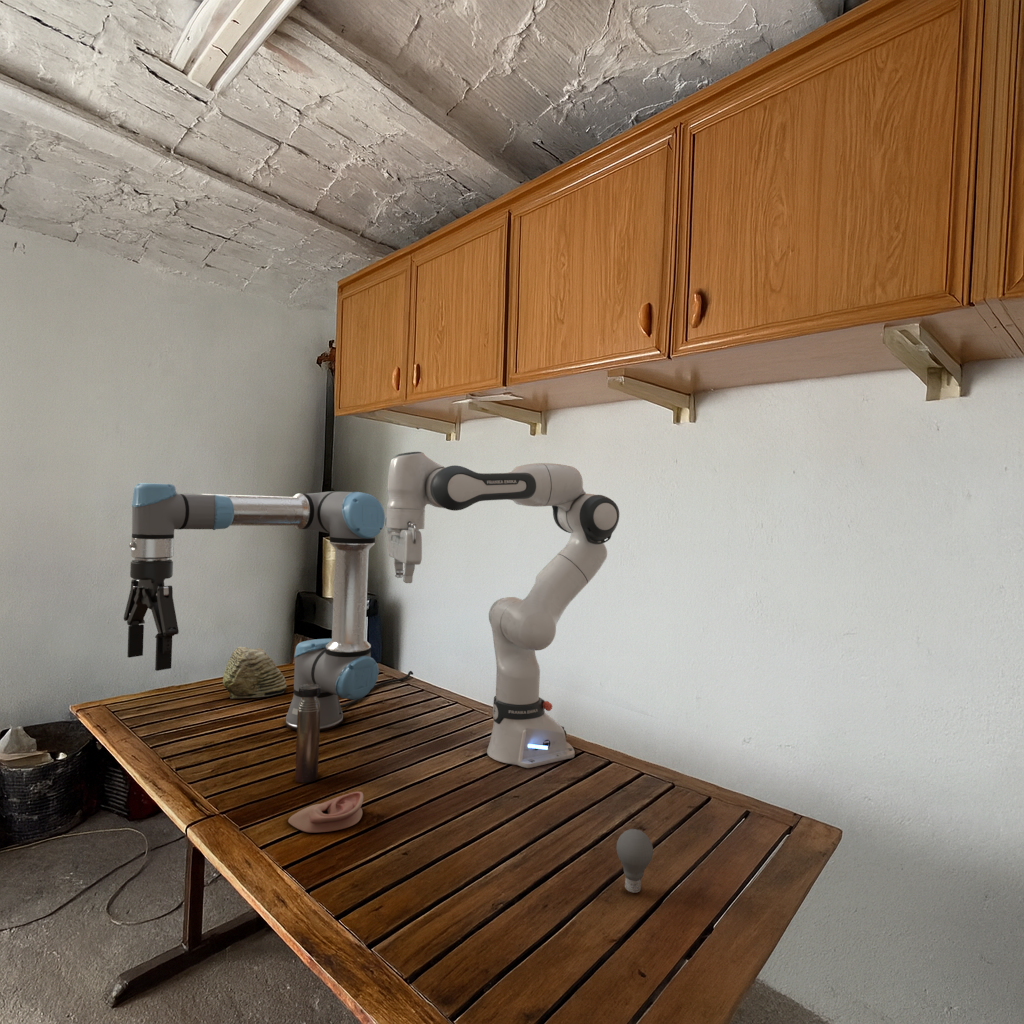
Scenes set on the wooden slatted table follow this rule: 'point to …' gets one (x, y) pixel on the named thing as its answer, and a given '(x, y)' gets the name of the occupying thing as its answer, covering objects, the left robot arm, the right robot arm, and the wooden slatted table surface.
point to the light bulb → (634, 857)
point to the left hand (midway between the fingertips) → (148, 662)
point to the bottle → (307, 740)
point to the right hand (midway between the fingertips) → (403, 580)
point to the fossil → (252, 674)
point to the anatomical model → (329, 814)
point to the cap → (309, 690)
